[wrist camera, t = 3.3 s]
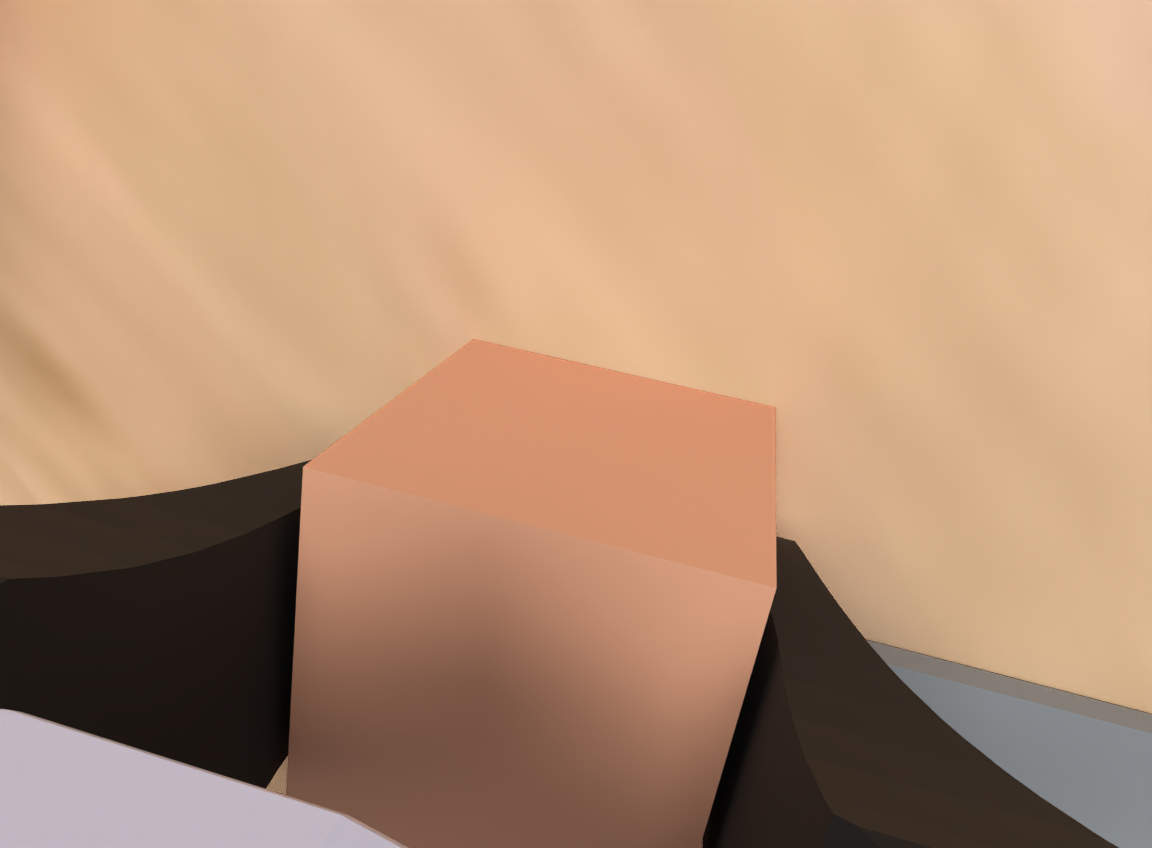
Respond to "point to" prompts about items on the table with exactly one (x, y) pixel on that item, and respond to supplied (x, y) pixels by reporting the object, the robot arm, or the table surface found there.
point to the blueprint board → (1046, 741)
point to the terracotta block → (531, 606)
